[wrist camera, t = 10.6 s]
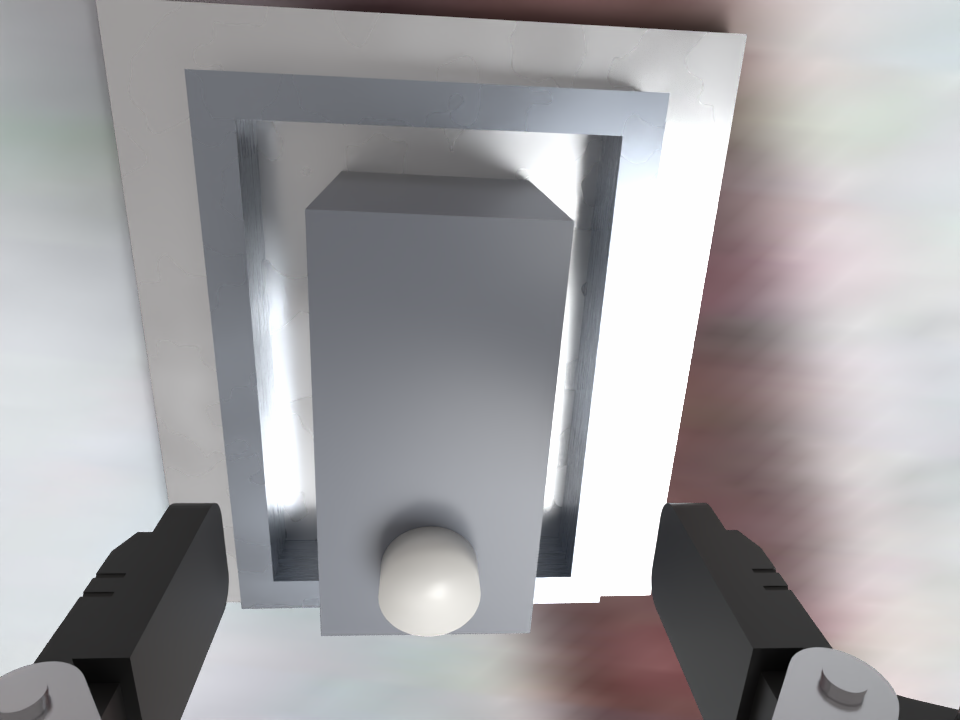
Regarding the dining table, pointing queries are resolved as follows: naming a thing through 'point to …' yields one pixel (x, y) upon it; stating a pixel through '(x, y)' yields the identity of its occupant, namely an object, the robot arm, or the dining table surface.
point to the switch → (419, 151)
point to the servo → (432, 397)
